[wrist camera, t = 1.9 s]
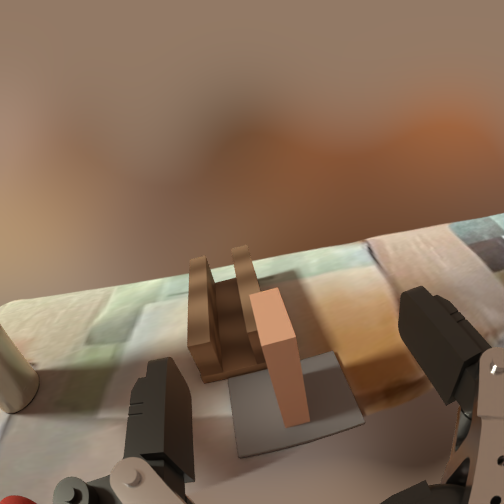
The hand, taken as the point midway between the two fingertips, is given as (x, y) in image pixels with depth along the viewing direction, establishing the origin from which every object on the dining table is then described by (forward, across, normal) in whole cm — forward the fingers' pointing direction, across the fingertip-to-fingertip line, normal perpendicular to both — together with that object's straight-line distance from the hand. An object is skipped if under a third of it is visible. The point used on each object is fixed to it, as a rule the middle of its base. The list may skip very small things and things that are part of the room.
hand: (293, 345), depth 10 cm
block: (+11, 0, +20) cm, 23 cm away
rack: (+26, +4, +20) cm, 33 cm away
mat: (+11, 0, +20) cm, 23 cm away
